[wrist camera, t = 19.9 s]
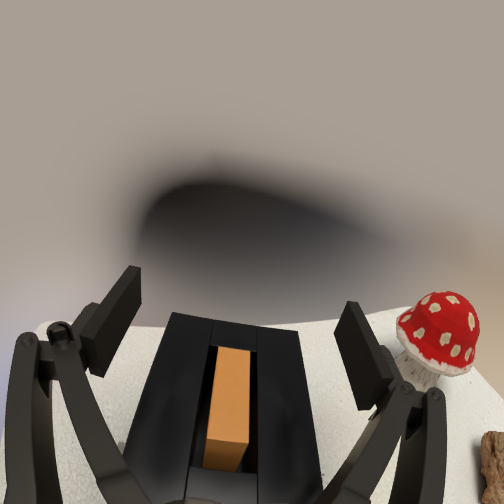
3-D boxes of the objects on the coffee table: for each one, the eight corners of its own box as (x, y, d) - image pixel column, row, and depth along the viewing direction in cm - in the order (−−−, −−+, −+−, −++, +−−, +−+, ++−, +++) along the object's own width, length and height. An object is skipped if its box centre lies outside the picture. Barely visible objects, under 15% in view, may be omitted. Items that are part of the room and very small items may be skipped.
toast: (201, 477, 16) (206, 438, 13) (210, 405, 24) (218, 346, 20) (230, 481, 17) (248, 443, 13) (234, 408, 24) (250, 350, 20)
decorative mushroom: (383, 339, 42) (421, 261, 36) (447, 372, 35) (494, 298, 29) (356, 388, 32) (409, 295, 25) (436, 430, 24) (507, 346, 18)
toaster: (124, 515, 13) (90, 489, 9) (162, 374, 29) (159, 308, 25) (280, 535, 14) (327, 518, 10) (274, 391, 30) (297, 330, 26)
